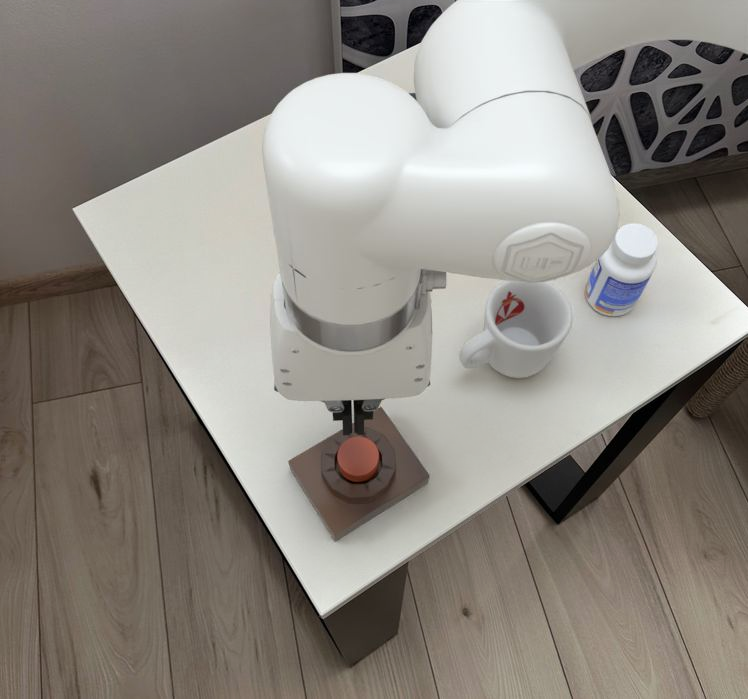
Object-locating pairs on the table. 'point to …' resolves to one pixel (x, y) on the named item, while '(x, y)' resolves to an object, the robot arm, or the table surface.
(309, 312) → the robot arm
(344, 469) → the button
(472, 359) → the cup
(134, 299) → the table surface
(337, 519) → the button block
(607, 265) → the pill bottle
